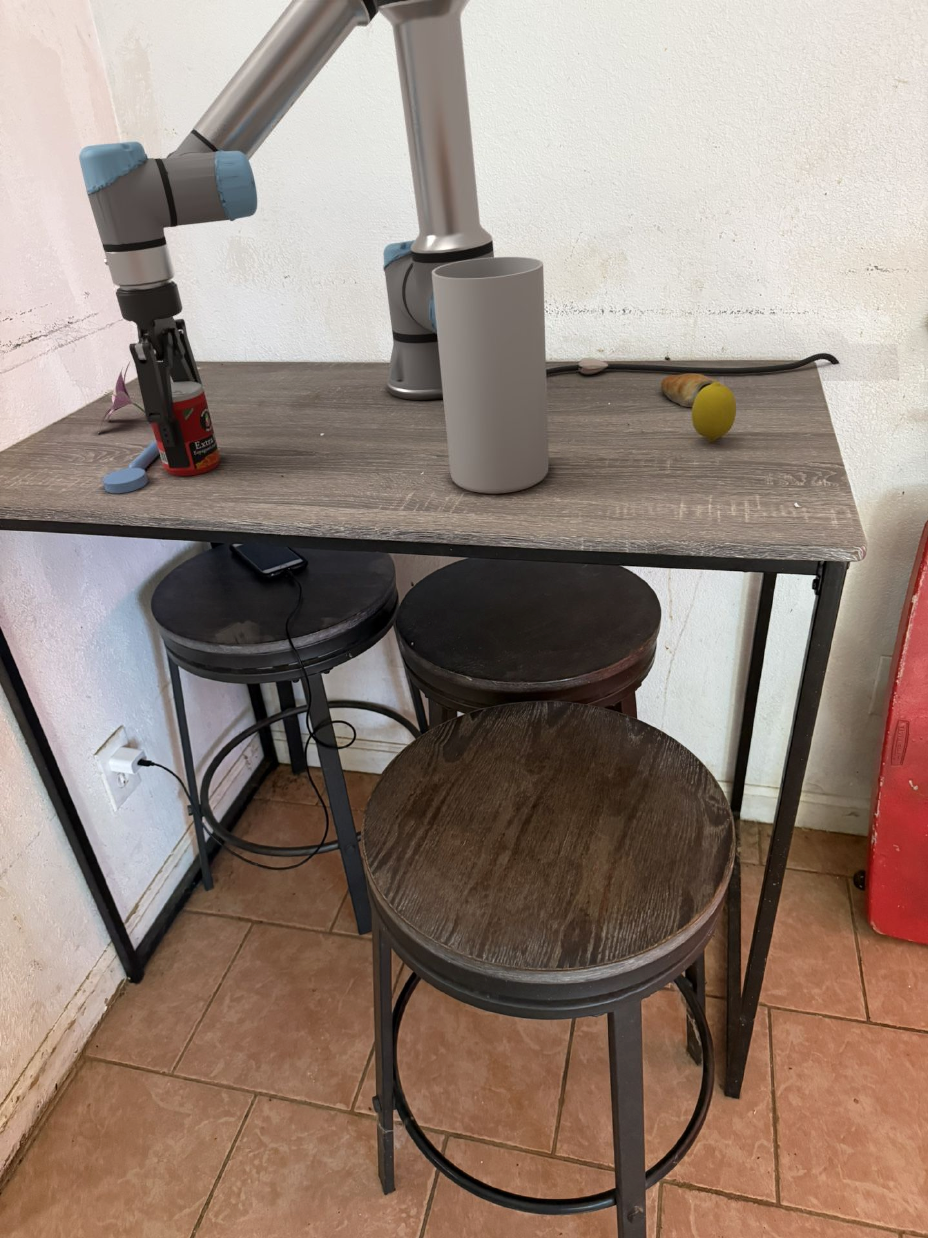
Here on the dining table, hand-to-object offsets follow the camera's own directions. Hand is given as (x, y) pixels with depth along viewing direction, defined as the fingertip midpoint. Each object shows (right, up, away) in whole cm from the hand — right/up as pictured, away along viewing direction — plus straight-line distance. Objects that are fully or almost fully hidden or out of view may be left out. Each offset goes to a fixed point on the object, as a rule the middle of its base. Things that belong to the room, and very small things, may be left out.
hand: (190, 455), depth 118 cm
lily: (-17, +9, +20) cm, 28 cm away
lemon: (+71, 0, -6) cm, 72 cm away
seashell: (+60, +18, +24) cm, 67 cm away
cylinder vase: (+43, -5, -10) cm, 44 cm away
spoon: (-7, -1, +3) cm, 8 cm away
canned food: (0, -2, +1) cm, 2 cm away
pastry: (+72, +10, +9) cm, 74 cm away
